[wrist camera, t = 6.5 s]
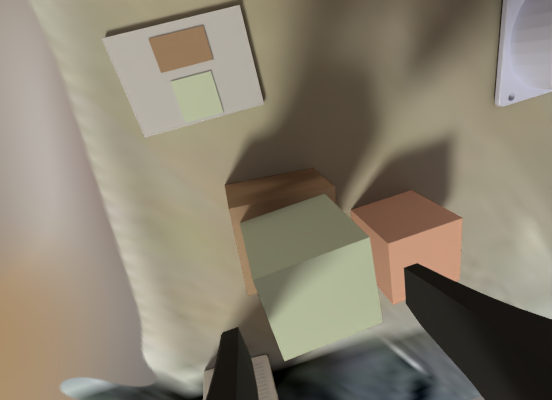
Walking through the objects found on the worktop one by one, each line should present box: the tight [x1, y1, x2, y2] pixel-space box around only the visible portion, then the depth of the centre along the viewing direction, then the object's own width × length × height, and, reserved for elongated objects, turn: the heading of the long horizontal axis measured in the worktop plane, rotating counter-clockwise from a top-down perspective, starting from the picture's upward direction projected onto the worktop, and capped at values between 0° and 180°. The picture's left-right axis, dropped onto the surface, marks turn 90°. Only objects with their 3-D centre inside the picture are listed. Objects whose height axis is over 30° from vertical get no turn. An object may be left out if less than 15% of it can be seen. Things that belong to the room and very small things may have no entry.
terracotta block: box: [351, 190, 463, 305], centre depth 21 cm, size 5×5×5 cm
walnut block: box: [225, 168, 336, 296], centre depth 19 cm, size 6×6×4 cm
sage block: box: [240, 193, 382, 361], centre depth 15 cm, size 5×5×5 cm
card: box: [102, 5, 264, 138], centre depth 16 cm, size 7×5×1 cm
